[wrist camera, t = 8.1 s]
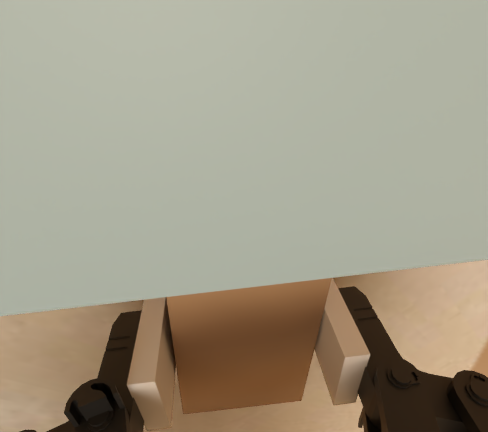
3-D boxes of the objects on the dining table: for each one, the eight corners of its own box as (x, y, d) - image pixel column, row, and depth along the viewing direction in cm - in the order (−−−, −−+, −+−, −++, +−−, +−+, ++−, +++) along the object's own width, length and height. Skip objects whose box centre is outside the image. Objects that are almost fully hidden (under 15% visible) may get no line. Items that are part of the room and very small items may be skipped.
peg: (276, 309, 18) (301, 400, 14) (186, 316, 17) (183, 414, 13) (296, 158, 13) (344, 229, 9) (171, 161, 12) (158, 238, 8)
